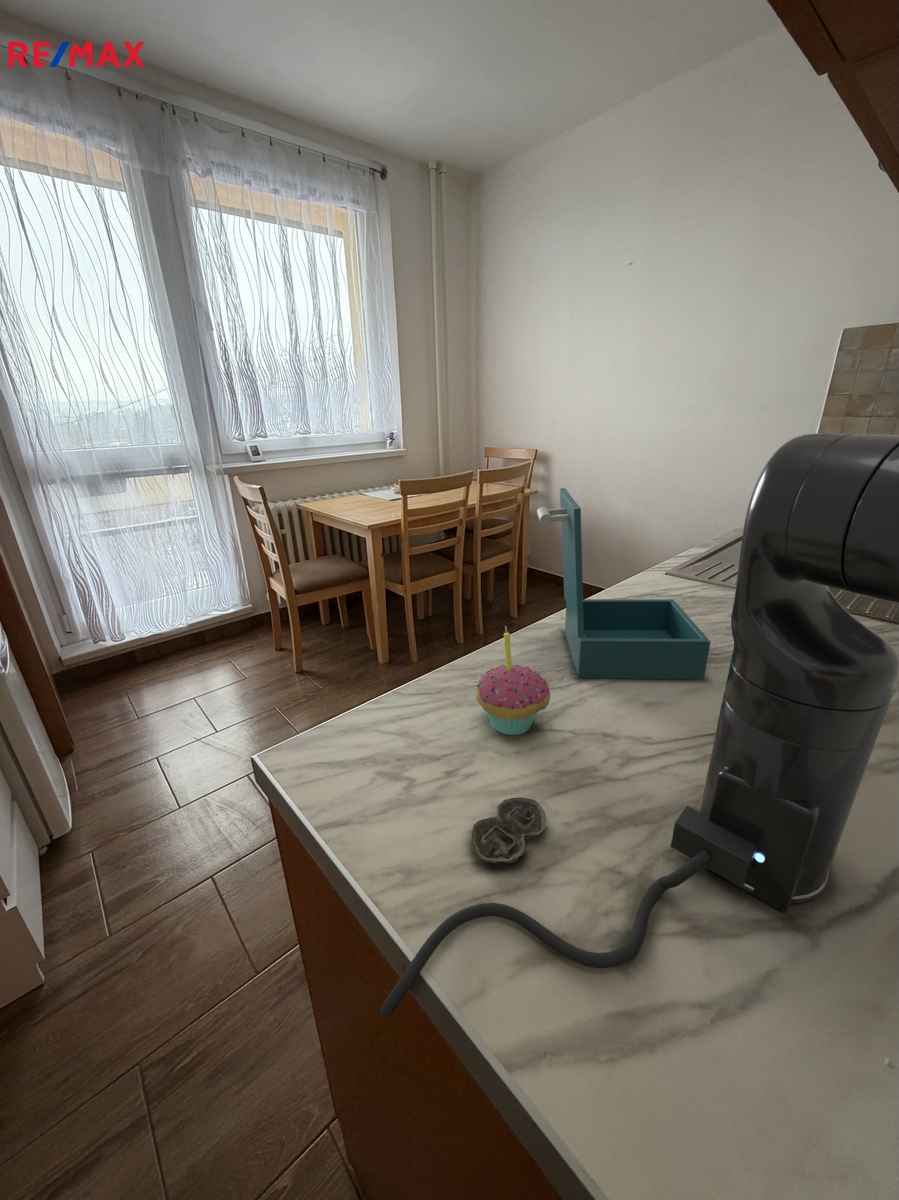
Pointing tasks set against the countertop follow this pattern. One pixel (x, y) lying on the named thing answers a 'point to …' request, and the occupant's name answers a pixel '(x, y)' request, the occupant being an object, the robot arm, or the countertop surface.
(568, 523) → the chest lid
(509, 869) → the countertop surface
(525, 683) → the cupcake
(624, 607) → the chest
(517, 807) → the corroded twin loop
